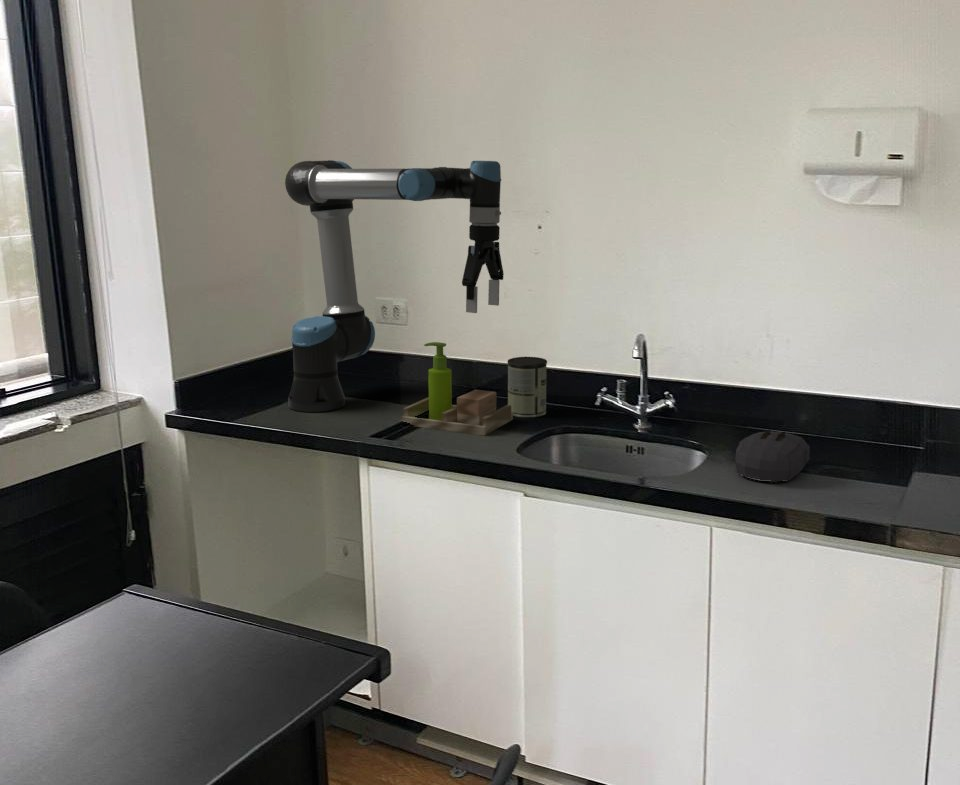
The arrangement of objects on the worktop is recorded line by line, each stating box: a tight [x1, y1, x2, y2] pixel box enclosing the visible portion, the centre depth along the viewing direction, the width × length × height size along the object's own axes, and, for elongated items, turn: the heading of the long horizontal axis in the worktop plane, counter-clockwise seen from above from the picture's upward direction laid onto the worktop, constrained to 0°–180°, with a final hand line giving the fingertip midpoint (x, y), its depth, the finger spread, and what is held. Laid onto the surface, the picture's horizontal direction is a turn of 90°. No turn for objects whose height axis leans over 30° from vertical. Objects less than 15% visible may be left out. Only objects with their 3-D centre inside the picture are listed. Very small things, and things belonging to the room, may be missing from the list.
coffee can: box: [507, 356, 548, 418], centre depth 266 cm, size 10×10×14 cm
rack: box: [400, 396, 514, 436], centre depth 258 cm, size 23×17×4 cm
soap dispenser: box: [423, 341, 453, 421], centre depth 258 cm, size 6×7×20 cm
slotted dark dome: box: [734, 429, 811, 481], centre depth 218 cm, size 15×8×20 cm
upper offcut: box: [456, 389, 497, 416], centre depth 254 cm, size 6×10×4 cm, turn 153°
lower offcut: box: [457, 407, 497, 426], centre depth 255 cm, size 6×10×4 cm, turn 154°
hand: (482, 308), depth 258 cm, fingers open, 13 cm apart
